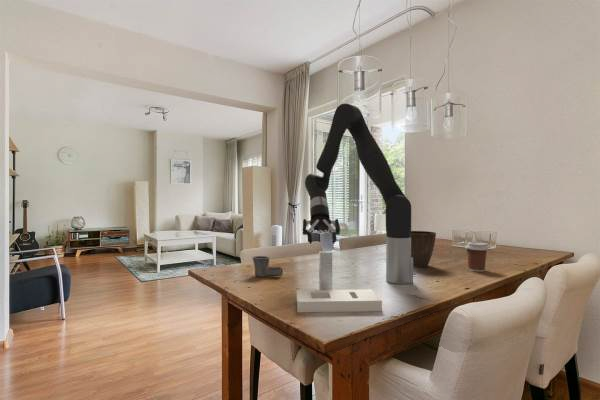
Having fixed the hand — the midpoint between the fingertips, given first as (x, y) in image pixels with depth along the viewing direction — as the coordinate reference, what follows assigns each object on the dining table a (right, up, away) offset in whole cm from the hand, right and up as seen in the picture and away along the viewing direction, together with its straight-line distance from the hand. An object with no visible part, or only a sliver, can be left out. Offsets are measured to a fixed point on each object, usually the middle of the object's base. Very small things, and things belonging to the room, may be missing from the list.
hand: (322, 242), depth 116 cm
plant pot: (+49, -16, +34) cm, 62 cm away
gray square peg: (0, -16, -10) cm, 19 cm away
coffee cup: (+71, -16, +25) cm, 77 cm away
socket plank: (+3, -16, -22) cm, 27 cm away
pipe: (-22, -16, +13) cm, 30 cm away
